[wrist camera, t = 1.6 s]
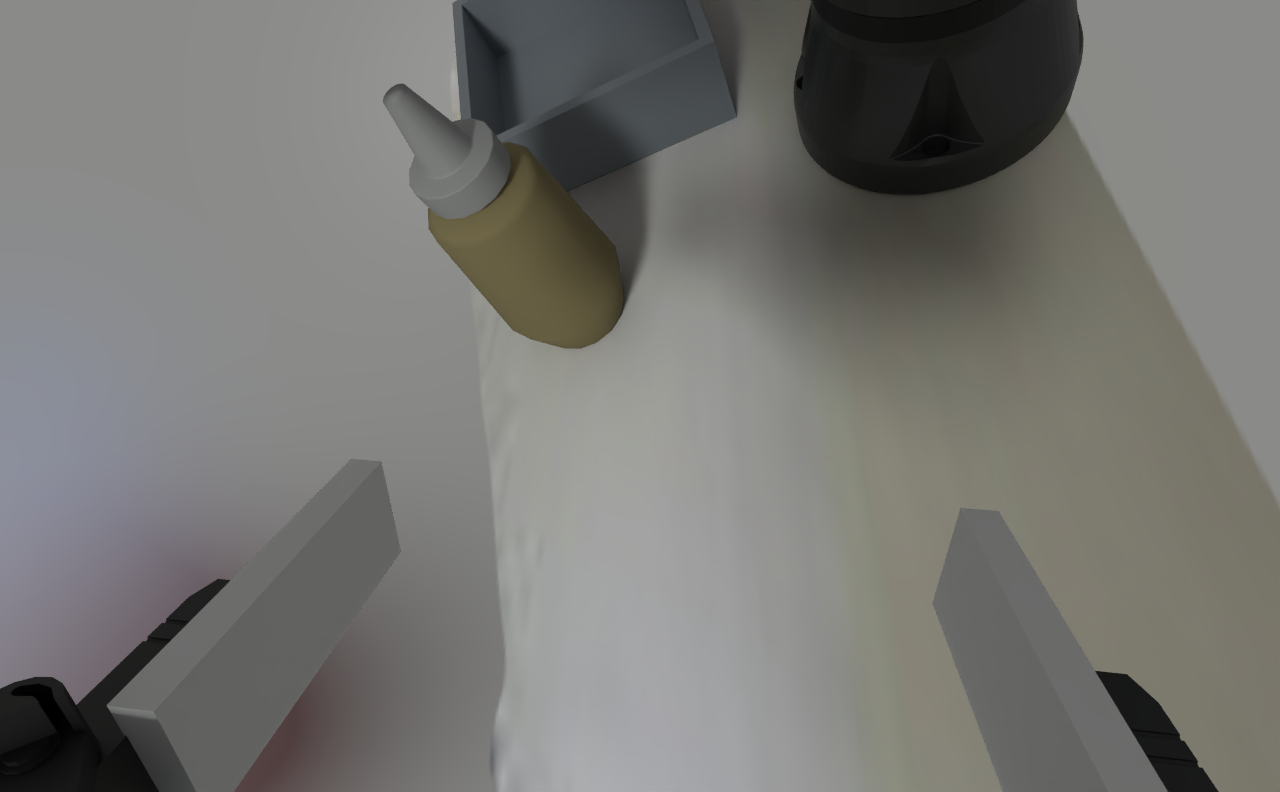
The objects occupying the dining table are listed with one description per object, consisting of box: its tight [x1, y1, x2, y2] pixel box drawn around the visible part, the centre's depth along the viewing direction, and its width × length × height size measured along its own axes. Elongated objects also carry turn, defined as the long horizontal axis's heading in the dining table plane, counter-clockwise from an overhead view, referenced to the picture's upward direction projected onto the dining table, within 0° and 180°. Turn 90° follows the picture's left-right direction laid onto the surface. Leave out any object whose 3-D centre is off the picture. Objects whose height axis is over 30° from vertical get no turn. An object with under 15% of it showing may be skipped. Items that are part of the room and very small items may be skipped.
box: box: [453, 0, 737, 191], centre depth 46 cm, size 18×18×6 cm
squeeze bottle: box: [383, 84, 624, 348], centre depth 33 cm, size 8×8×18 cm
